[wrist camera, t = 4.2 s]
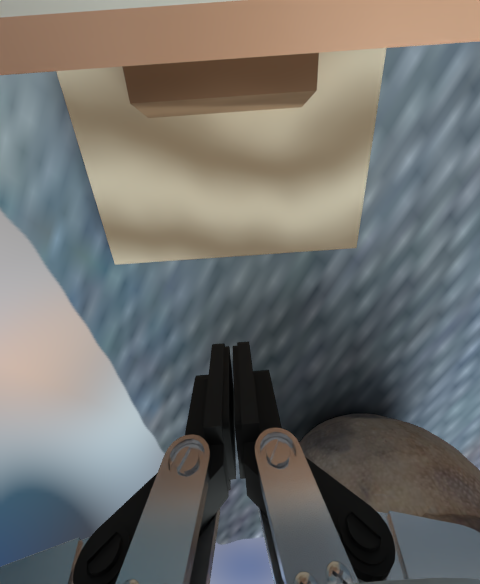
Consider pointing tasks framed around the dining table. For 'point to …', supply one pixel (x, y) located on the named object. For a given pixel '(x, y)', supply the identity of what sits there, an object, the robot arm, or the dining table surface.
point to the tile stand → (228, 152)
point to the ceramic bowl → (397, 467)
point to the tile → (216, 29)
